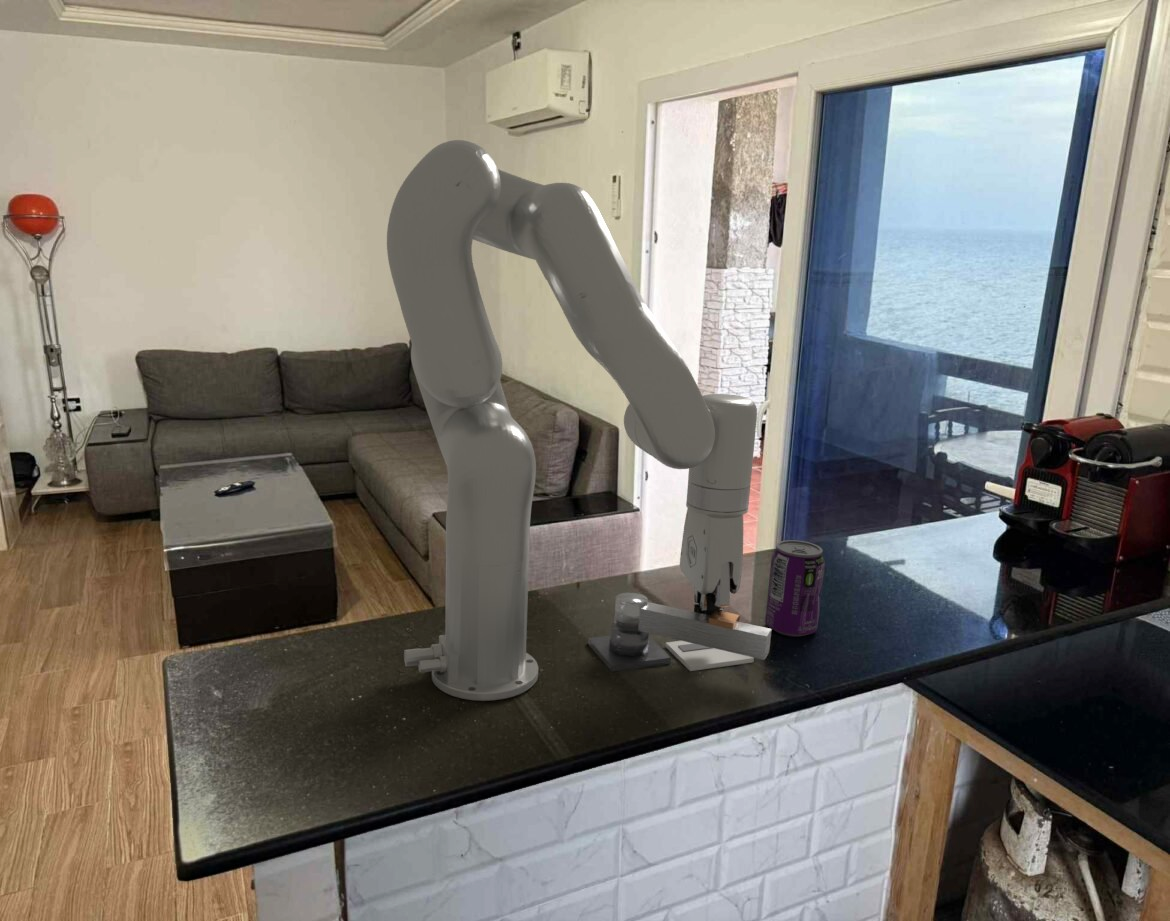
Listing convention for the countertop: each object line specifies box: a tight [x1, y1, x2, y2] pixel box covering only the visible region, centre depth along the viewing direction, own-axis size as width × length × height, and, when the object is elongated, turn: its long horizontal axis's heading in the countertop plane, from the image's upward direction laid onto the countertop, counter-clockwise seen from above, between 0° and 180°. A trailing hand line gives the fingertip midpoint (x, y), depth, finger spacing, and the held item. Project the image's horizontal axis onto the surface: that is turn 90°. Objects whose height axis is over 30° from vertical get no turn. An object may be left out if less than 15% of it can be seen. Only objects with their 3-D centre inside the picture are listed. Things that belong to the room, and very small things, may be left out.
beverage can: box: [764, 539, 825, 638], centre depth 119 cm, size 7×7×12 cm
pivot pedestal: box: [587, 622, 671, 673], centre depth 110 cm, size 8×8×4 cm
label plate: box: [665, 640, 755, 672], centre depth 111 cm, size 9×7×1 cm
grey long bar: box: [613, 592, 772, 661], centre depth 106 cm, size 20×4×4 cm, turn 65°
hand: (706, 635), depth 109 cm, fingers closed
